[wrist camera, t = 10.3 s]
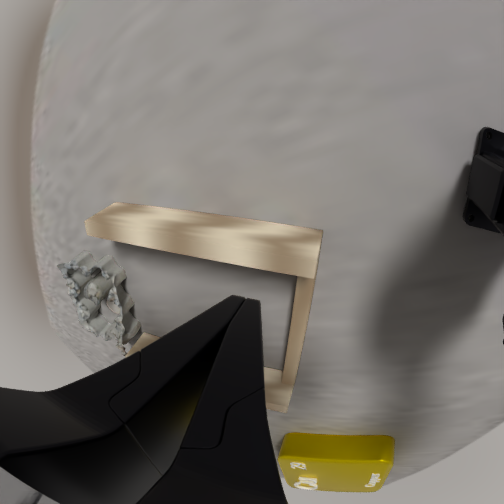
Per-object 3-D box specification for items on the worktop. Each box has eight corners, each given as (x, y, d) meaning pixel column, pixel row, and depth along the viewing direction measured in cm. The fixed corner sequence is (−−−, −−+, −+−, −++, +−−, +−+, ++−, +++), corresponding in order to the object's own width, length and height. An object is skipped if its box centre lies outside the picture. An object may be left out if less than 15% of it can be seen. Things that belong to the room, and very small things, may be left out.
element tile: (381, 470, 36) (378, 495, 32) (293, 466, 41) (287, 490, 37) (397, 431, 29) (395, 464, 25) (282, 428, 35) (273, 458, 31)
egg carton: (146, 336, 32) (128, 361, 29) (99, 317, 34) (80, 338, 31) (128, 257, 27) (101, 281, 23) (76, 243, 28) (50, 263, 25)
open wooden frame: (323, 230, 20) (316, 260, 16) (295, 380, 28) (286, 413, 25) (115, 202, 24) (84, 221, 20) (146, 339, 32) (127, 363, 29)
